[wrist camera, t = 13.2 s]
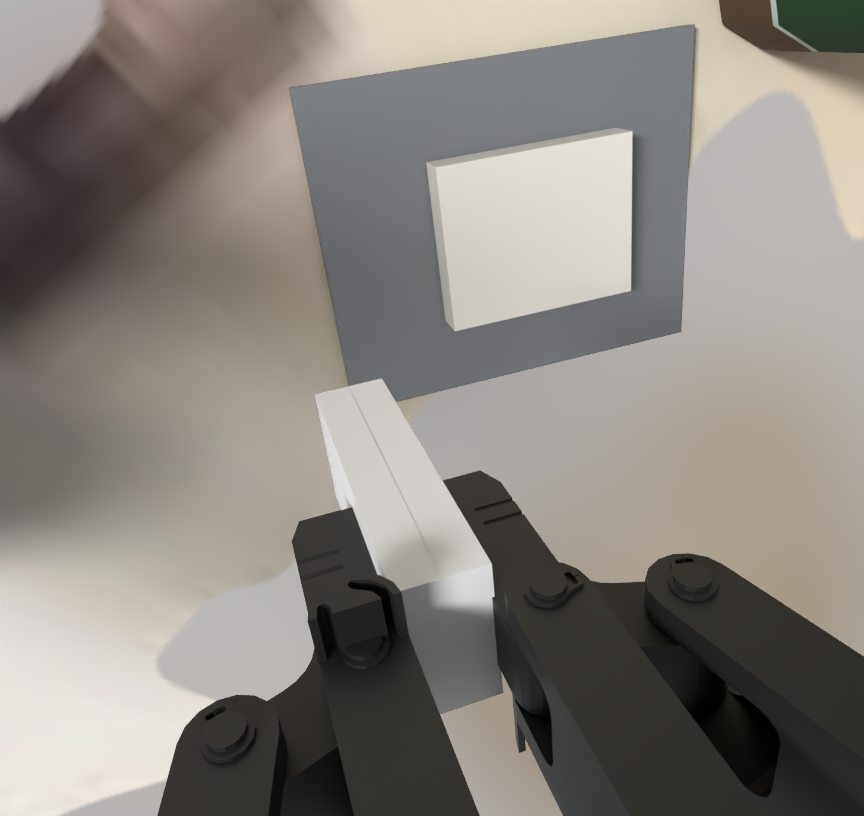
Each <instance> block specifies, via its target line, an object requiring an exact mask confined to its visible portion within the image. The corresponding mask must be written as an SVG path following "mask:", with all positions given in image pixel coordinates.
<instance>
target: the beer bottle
mask: <svg viewBox="0 0 864 816" xmlns="http://www.w3.org/2000/svg"><path fill="white" fill-rule="evenodd" d="M719 3H720V10H721V17H722V23H723V24H724V25H725V26H726V27H728V28H730V29H731V30H733V31H734V32H736V33H738V34H739V35H741V36H742V37H744V38H746V39H747V40H749V41H750V42H752V43H753V44H755V45H757V46H758V47H760V48H763V49H771V50H779V51H808V52H849V53H864V0H719Z"/></svg>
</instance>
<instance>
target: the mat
mask: <svg viewBox="0 0 864 816" xmlns="http://www.w3.org/2000/svg"><path fill="white" fill-rule="evenodd" d="M694 32H695V25H684V26H677V27H671V28H665V29H658V30H652V31H646V32H640V33H633V34H627V35H621V36H614V37H608V38H602V39H595V40H589V41H583V42H576V43H570V44H564V45H557V46H551V47H545V48H538V49H532V50H526V51H520V52H513V53H507V54H501V55H494V56H488V57H482V58H475V59H469V60H463V61H456V62H450V63H444V64H437V65H431V66H425V67H419V68H412V69H406V70H400V71H393V72H387V73H381V74H374V75H368V76H362V77H355V78H349V79H343V80H336V81H330V82H324V83H317V84H311V85H305V86H299V87H292V88H289V92H290V96H291V101H292V106H293V111H294V116H295V121H296V126H297V131H298V136H299V141H300V146H301V151H302V156H303V161H304V166H305V171H306V176H307V181H308V186H309V191H310V196H311V201H312V206H313V211H314V216H315V220H316V225H317V230H318V235H319V240H320V245H321V250H322V255H323V260H324V265H325V270H326V275H327V280H328V285H329V290H330V295H331V300H332V305H333V310H334V315H335V320H336V325H337V330H338V335H339V340H340V344H341V349H342V354H343V359H344V364H345V369H346V374H347V379H348V384H349V386H352V385H356V384H360V383H364V382H369V381H373V380H377V379H381V378H382V380H383V381H384V383H385V385H386V386H387V388H388V390H389V391H390V393H391V395H392V396H393V398H394V400H395V401H396V402H397V401H401V400H405V399H410V398H414V397H418V396H422V395H426V394H430V393H434V392H438V391H442V390H446V389H450V388H454V387H458V386H463V385H466V384H471V383H475V382H479V381H483V380H487V379H491V378H495V377H499V376H503V375H507V374H511V373H515V372H520V371H524V370H528V369H532V368H536V367H540V366H544V365H548V364H552V363H556V362H560V361H564V360H568V359H573V358H577V357H581V356H584V355H589V354H593V353H596V352H601V351H605V350H609V349H613V348H617V347H621V346H625V345H630V344H634V343H638V342H642V341H645V340H650V339H654V338H658V337H662V336H666V335H670V334H674V333H678V332H681V323H682V322H681V321H682V300H683V276H684V255H685V234H686V233H685V232H686V211H687V210H686V209H687V189H688V167H689V144H690V122H691V99H692V77H693V55H694ZM611 128H620V129H625V130H629V131H633V133H632V239H631V291H629V292H624V293H620V294H615V295H611V296H607V297H602V298H598V299H594V300H589V301H585V302H581V303H576V304H572V305H568V306H563V307H559V308H554V309H550V310H546V311H541V312H537V313H533V314H528V315H524V316H520V317H515V318H511V319H507V320H502V321H498V322H493V323H489V324H485V325H480V326H476V327H472V328H467V329H463V330H459V331H454V330H453V329H452V328H451V326H450V325H449V324H448V323H447V322H446V320H445V312H444V304H443V296H442V288H441V280H440V271H439V263H438V255H437V247H436V239H435V231H434V222H433V214H432V206H431V198H430V190H429V181H428V173H427V165H426V162H430V161H436V160H441V159H447V158H452V157H458V156H463V155H468V154H474V153H479V152H485V151H490V150H496V149H501V148H507V147H512V146H518V145H523V144H529V143H534V142H540V141H545V140H551V139H556V138H561V137H567V136H572V135H578V134H583V133H589V132H594V131H600V130H605V129H611Z"/></svg>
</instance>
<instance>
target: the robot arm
mask: <svg viewBox="0 0 864 816" xmlns="http://www.w3.org/2000/svg"><path fill="white" fill-rule="evenodd" d="M315 398H316V403H317V407H318V412H319V417H320V422H321V426H322V431H323V436H324V441H325V445H326V450H327V455H328V460H329V464H330V469H331V474H332V479H333V483H334V488H335V493H336V497H337V500H338V503H339V506H340V509H341V510H340V511H336V512H332V513H329V514H325V515H321V516H318V517H314V518H310V519H307V520H303V521H299V524H298V526H297V529H296V532H295V534H294V537H293V540H292V544H293V549H294V553H295V557H296V562H297V566H298V570H299V575H300V579H301V584H302V588H303V592H304V597H305V601H306V605H307V610H308V624H309V627H310V631H311V635H312V639H313V643H314V647H315V649H314V653H313V657H312V660H311V662H310V664H309V665H308V667H307V669H306V671H305V672H304V673H303V674H302V675H301V677H300V678H299V679H298V680H297V681H296V682H295V683H293V684H292V685H291V686H289V687H288V688H287V689H285V690H284V691H283V692H281V693H279V694H278V695H276V696H275V697H273V698H272V699H270V700H268V701H265V700H263V699H261V698H258V697H256V696H250V695H235V696H231V697H228V698H225V699H221V700H217V701H216V702H214V703H213V704H211V705H209V706H208V707H206V708H204V709H203V710H201V711H199V713H198V714H197V715H196V716H195V717H194V718H193V719H192V720H191V721H190V722H189V723H188V724H187V725H186V726H185V728H184V730H183V732H182V734H181V737H180V739H179V741H178V743H177V745H176V749H175V753H174V757H173V760H172V764H171V768H170V771H169V775H168V779H167V782H166V786H165V790H164V794H163V797H162V801H161V805H160V808H159V812H158V816H479V813H478V811H477V808H476V806H475V803H474V800H473V798H472V795H471V793H470V791H469V788H468V785H467V782H466V780H465V777H464V775H463V772H462V770H461V767H460V765H459V762H458V759H457V757H456V754H455V752H454V749H453V747H452V744H451V742H450V739H449V736H448V734H447V731H446V729H445V726H444V724H443V721H442V719H441V716H440V714H443V713H446V712H448V711H451V710H454V709H457V708H460V707H463V706H466V705H469V704H472V703H475V702H478V701H481V700H484V699H486V698H489V697H492V696H495V695H498V694H501V693H503V687H502V676H501V671H502V673H503V675H504V677H505V679H506V681H507V683H508V685H509V687H510V689H511V691H512V694H513V707H514V719H515V732H516V741H517V746H518V749H519V753H520V752H523V751H525V750H526V748H525V739H526V741H527V743H528V745H529V747H530V749H531V751H532V753H533V755H534V757H535V759H536V761H537V763H538V765H539V767H540V769H541V771H542V773H543V775H544V777H545V780H546V782H547V784H548V786H549V788H550V790H551V792H552V794H553V796H554V798H555V800H556V802H557V804H558V806H559V808H560V810H561V812H562V814H563V816H864V656H862V655H861V654H859V653H857V652H856V651H854V650H853V649H851V648H850V647H848V646H847V645H845V644H844V643H842V642H841V641H839V640H838V639H836V638H835V637H833V636H831V635H830V634H828V633H827V632H825V631H824V630H822V629H821V628H819V627H818V626H816V625H815V624H813V623H811V622H810V621H808V620H807V619H805V618H804V617H802V616H801V615H799V614H798V613H796V612H795V611H793V610H791V609H790V608H789V607H787V606H785V605H784V604H782V603H781V602H779V601H778V600H776V599H775V598H773V597H772V596H770V595H769V594H767V593H766V592H764V591H763V590H761V589H759V588H758V587H757V586H755V585H753V584H752V583H750V582H749V581H747V580H746V579H744V578H742V577H741V576H740V575H738V574H737V573H735V572H734V571H732V570H730V569H729V568H727V567H726V566H724V565H723V564H721V563H718V562H716V561H714V560H712V559H710V558H708V557H704V556H699V555H694V554H672V555H669V556H666V557H664V558H661V559H658V560H657V561H656V562H655V563H654V564H653V565H652V566H650V567H649V569H648V572H647V575H646V579H645V582H631V583H630V582H629V583H599V582H594V581H590V580H589V579H588V578H587V577H586V576H585V575H584V574H583V573H581V571H579V570H578V569H576V568H574V567H572V566H569V565H567V564H564V563H559V562H558V561H557V560H556V559H555V557H554V556H553V554H552V553H551V552H550V550H549V549H548V547H547V546H546V545H545V543H544V542H543V541H542V539H541V538H540V536H539V535H538V534H537V532H536V531H535V529H534V528H533V527H532V525H531V524H530V522H529V521H528V520H527V518H526V517H525V516H524V515H522V512H521V510H520V509H519V507H518V506H517V504H516V503H515V502H514V501H513V500H512V497H511V496H510V495H509V493H508V492H507V491H506V489H505V488H504V486H503V485H502V484H501V482H500V481H498V480H496V479H494V478H492V477H490V476H489V475H487V474H485V473H483V472H482V471H477V472H473V473H469V474H466V475H462V476H458V477H455V478H451V479H447V480H443V481H442V479H441V477H440V476H439V474H438V472H437V471H436V469H435V467H434V465H433V464H432V462H431V460H430V459H429V457H428V455H427V454H426V452H425V450H424V449H423V447H422V445H421V444H420V442H419V440H418V439H417V437H416V435H415V433H414V432H413V430H412V428H411V427H410V425H409V423H408V422H407V420H406V418H405V417H404V415H403V413H402V412H401V410H400V408H399V407H398V405H397V403H396V401H395V400H394V398H393V396H392V395H391V393H390V391H389V390H388V388H387V386H386V385H385V383H384V381H383V380H382V378H381V379H377V380H373V381H369V382H364V383H360V384H356V385H352V386H347V387H343V388H339V389H335V390H330V391H326V392H322V393H318V394H315Z"/></svg>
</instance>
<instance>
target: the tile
mask: <svg viewBox="0 0 864 816" xmlns="http://www.w3.org/2000/svg"><path fill="white" fill-rule="evenodd" d="M632 133H633V131H629V130H625V129H620V128H611V129H605V130H600V131H594V132H589V133H583V134H578V135H572V136H567V137H561V138H556V139H551V140H545V141H540V142H534V143H529V144H523V145H518V146H512V147H507V148H501V149H496V150H490V151H485V152H479V153H474V154H468V155H463V156H458V157H452V158H447V159H441V160H436V161H430V162H426V165H427V173H428V181H429V190H430V198H431V206H432V214H433V222H434V231H435V239H436V247H437V255H438V263H439V271H440V280H441V288H442V296H443V304H444V312H445V320H446V322H447V323H448V324H449V325H450V326H451V328H452V329H453V330H454V331H459V330H463V329H467V328H472V327H476V326H480V325H485V324H489V323H493V322H498V321H502V320H507V319H511V318H515V317H520V316H524V315H528V314H533V313H537V312H541V311H546V310H550V309H554V308H559V307H563V306H568V305H572V304H576V303H581V302H585V301H589V300H594V299H598V298H602V297H607V296H611V295H615V294H620V293H624V292H629V291H631V239H632Z"/></svg>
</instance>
